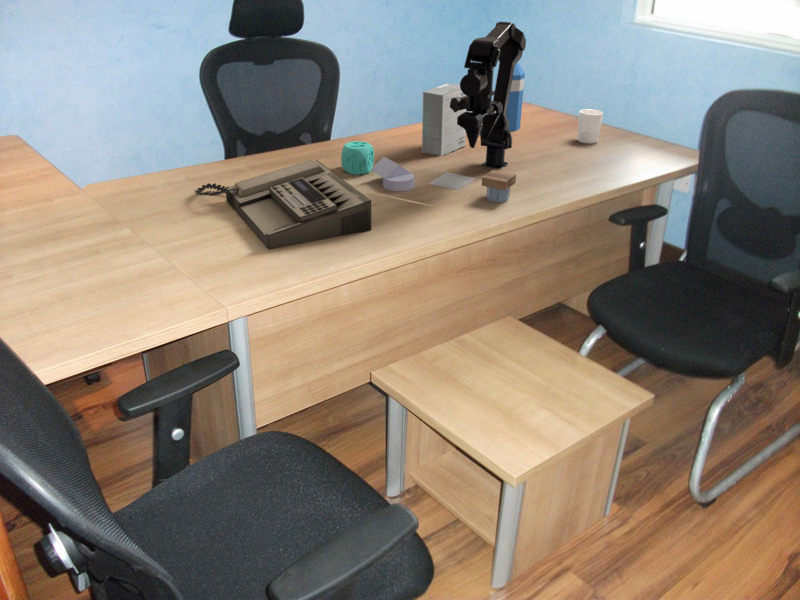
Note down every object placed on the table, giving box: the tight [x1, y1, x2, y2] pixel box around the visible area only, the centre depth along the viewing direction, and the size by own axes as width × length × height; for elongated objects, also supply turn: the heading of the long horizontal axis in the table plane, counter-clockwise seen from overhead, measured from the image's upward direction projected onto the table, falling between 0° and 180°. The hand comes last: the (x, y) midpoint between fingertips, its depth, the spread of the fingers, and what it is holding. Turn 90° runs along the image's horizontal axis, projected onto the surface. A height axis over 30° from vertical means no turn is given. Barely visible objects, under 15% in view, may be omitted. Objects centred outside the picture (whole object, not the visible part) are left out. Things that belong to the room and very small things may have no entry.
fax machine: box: [194, 159, 372, 250], centre depth 194 cm, size 45×34×10 cm
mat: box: [427, 172, 478, 191], centre depth 218 cm, size 12×10×1 cm
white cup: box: [577, 108, 604, 145], centre depth 255 cm, size 8×8×10 cm
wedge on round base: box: [370, 156, 415, 192], centre depth 214 cm, size 9×7×13 cm
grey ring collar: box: [485, 187, 511, 203], centre depth 205 cm, size 6×6×4 cm
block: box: [481, 169, 517, 190], centre depth 203 cm, size 7×7×2 cm
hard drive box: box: [421, 82, 468, 157], centre depth 241 cm, size 16×8×20 cm, turn 144°
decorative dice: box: [340, 140, 375, 176], centre depth 224 cm, size 8×8×8 cm
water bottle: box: [506, 61, 526, 132], centre depth 264 cm, size 9×9×25 cm
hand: (478, 143), depth 213 cm, fingers open, 9 cm apart
